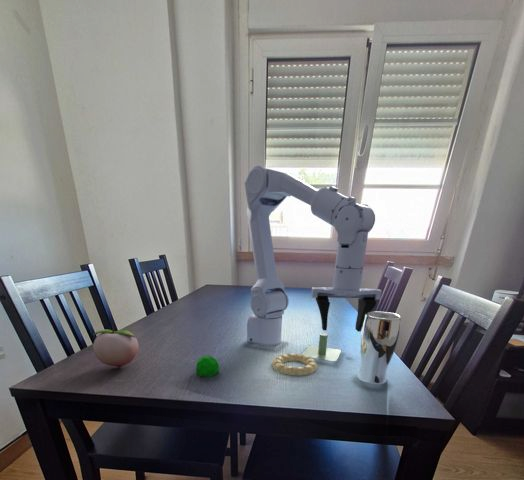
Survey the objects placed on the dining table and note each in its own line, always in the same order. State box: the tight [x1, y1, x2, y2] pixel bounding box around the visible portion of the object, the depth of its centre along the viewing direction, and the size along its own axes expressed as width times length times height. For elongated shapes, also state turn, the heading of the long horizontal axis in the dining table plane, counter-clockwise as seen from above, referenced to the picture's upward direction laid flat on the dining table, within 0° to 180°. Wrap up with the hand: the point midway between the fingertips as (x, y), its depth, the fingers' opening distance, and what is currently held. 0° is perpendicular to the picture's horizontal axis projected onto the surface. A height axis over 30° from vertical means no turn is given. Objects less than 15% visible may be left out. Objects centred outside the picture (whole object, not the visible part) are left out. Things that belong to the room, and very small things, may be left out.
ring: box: [271, 353, 319, 376], centre depth 66 cm, size 10×10×2 cm
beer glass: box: [357, 310, 402, 386], centre depth 58 cm, size 7×7×15 cm
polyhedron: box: [195, 355, 220, 378], centre depth 61 cm, size 5×5×5 cm
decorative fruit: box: [92, 325, 140, 368], centre depth 63 cm, size 9×8×10 cm
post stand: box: [301, 333, 343, 363], centre depth 73 cm, size 9×9×6 cm
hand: (341, 329), depth 64 cm, fingers open, 7 cm apart
